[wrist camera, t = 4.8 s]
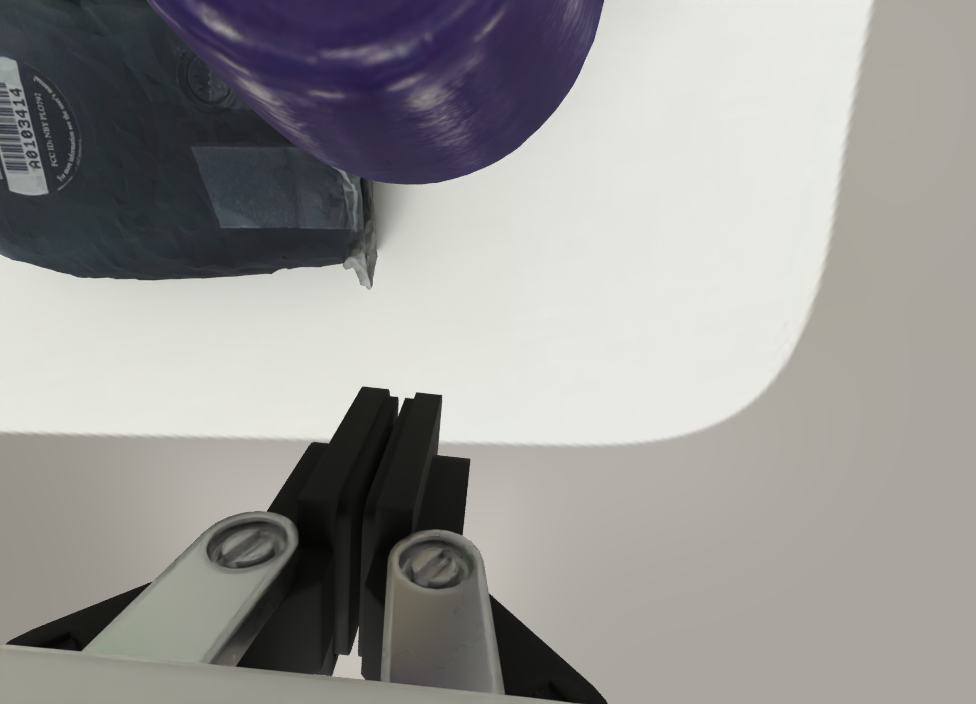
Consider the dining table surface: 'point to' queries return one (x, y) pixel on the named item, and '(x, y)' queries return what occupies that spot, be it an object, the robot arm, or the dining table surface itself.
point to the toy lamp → (394, 74)
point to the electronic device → (154, 158)
